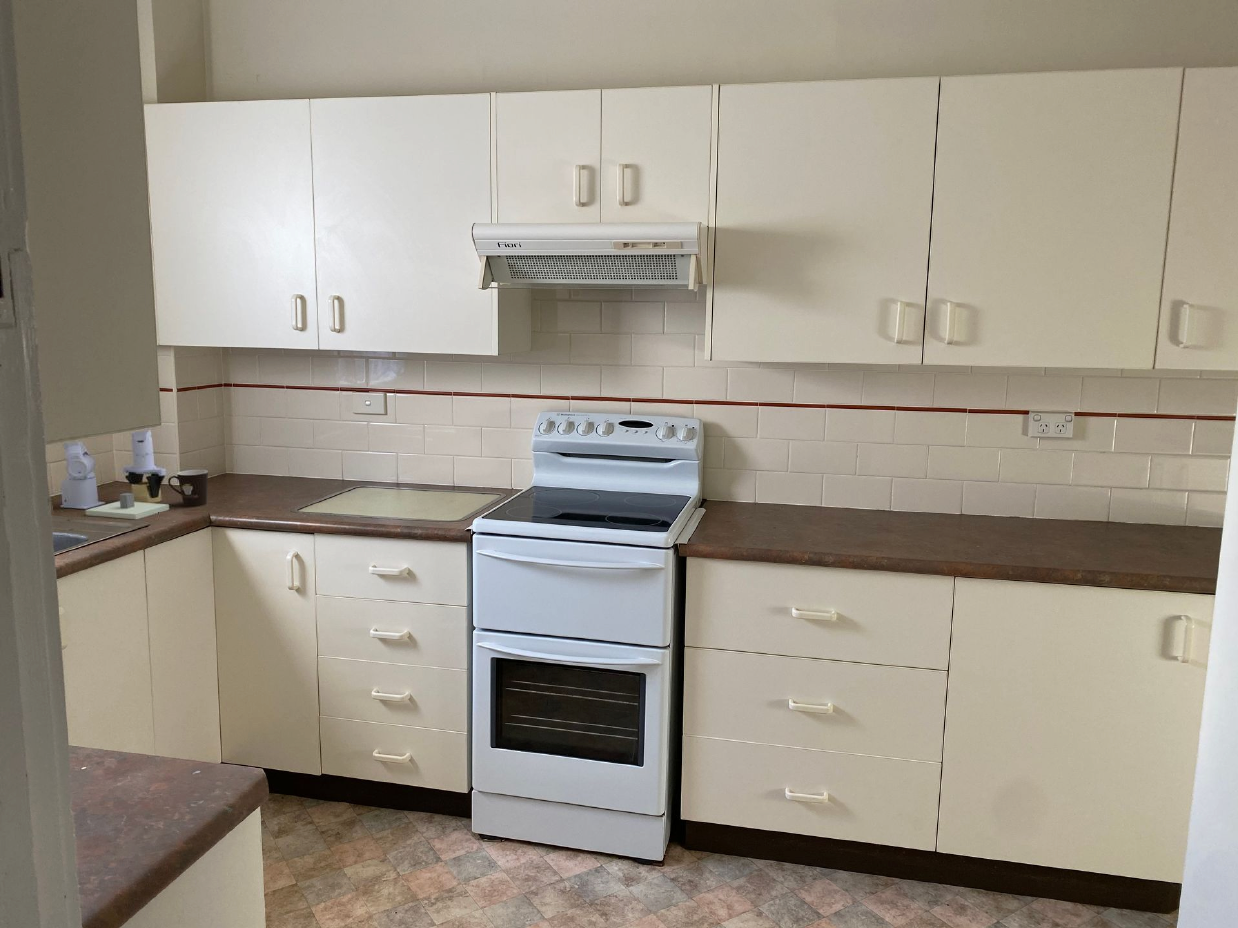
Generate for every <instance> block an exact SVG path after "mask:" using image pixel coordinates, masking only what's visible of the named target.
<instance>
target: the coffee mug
mask: <svg viewBox="0 0 1238 928" xmlns="http://www.w3.org/2000/svg"><path fill="white" fill-rule="evenodd" d="M208 474H209V471H208V470H205V469H191V470H190V469H189V470H183V471H179V472H177V473H176V475H172V476H170V477H169V478H168V480H167V483H168V486H169V487H170V488H171V489H172V490H173V491H175V492H176V493H177V494H179V495H181V499H182V502H183V503H182V504H183V506H184V507H187V508H189V507H191V508H192V507H194V508H195V507H201V506H205V505H207V497H208ZM174 478H175V479H177V480H178V484H179V489H180V490H178V488H175V487H174V485H172V484H171V480H172V479H174Z"/></svg>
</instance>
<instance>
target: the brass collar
mask: <svg viewBox="0 0 1238 928" xmlns="http://www.w3.org/2000/svg"><path fill="white" fill-rule="evenodd" d="M131 485H132V487H131V493H133V496H134V502H141V503H154V504H156V503H158V502H161V501H162V492H161V488H160V490H159V496H158V497H157V498H152V497H151V492H150V486H149V483H148V481H147V480H143V481H142V482H139V483H135V484H131ZM131 485H130V486H131Z"/></svg>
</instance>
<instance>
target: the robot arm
mask: <svg viewBox="0 0 1238 928" xmlns="http://www.w3.org/2000/svg"><path fill="white" fill-rule="evenodd" d="M130 434H131V450H132V461H133V465H126V466H123V467H122V470H123V474H126V475H125V476H124V477H125V479H126V480H127V482H128V483H129V485H130V487H131V488H132V485H131V484H135V483H139V482H143V481H144V475H148V476H146V477H145V478H146V481H148V483H149V486H150V492H151V497H152V498H157V497H158V496H159V490H160V489H161V486H162V483H163V481H164V479H165V476H167V468H163V467H158V466H156V465H155V460H154V459H155V455H154V444H153V438H152V432H151V428H150V429H149V430H146V431H138V432H135V433H131V432H130ZM62 447H63V449H64V458H65V461H66V464H65V465H66V466H65V469H66V472H67V474H68V476H67V477H65V478H63V480H61V483H60V493H61V501H62V504H61V505H60V508H68V509H79V510H80V509H81V510H88V509H92V508H95V507H99V506H103V505H106V502H105V501H99V496H98V494H99V493H98V485H97V477H96V475H97V474H95V472H94V471H93V470H94V469H95V468H96V460H95V458H94V457H93V455H91V454H90V453H89V451H88V449H87V447H86V446H85V445H84V443H83V442H82V440H81V441H80V442H73V443H64V444H62Z"/></svg>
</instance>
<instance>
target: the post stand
mask: <svg viewBox="0 0 1238 928" xmlns="http://www.w3.org/2000/svg"><path fill="white" fill-rule="evenodd" d="M84 510H85V515H86V516H92V517H104V518H105V517H106V518H117V519H127V520H128V519H129V520H138V519H141V518H146V517H149V516H152V515H156V514H159V513H162V512H166V511H169V510H170V505H169V504H164V503H141V502H134V496H133V493H132V492H125V493H120V494H119V501H114V502H111V503H107V504H102V505H98V506H94V507H91V508H87V509H84ZM158 512H159V513H158Z"/></svg>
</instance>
